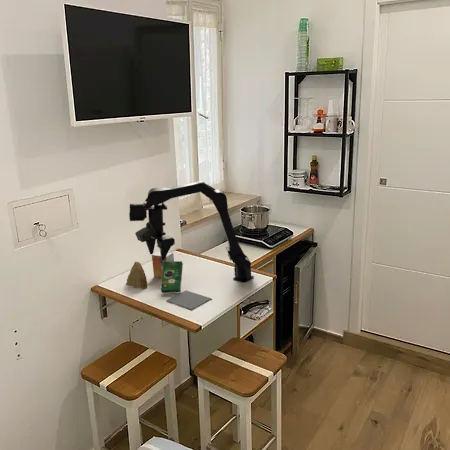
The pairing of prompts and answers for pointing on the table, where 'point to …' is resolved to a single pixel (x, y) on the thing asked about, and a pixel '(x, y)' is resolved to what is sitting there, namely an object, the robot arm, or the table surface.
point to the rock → (137, 277)
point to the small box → (160, 263)
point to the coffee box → (171, 277)
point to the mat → (188, 300)
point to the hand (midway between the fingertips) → (157, 257)
